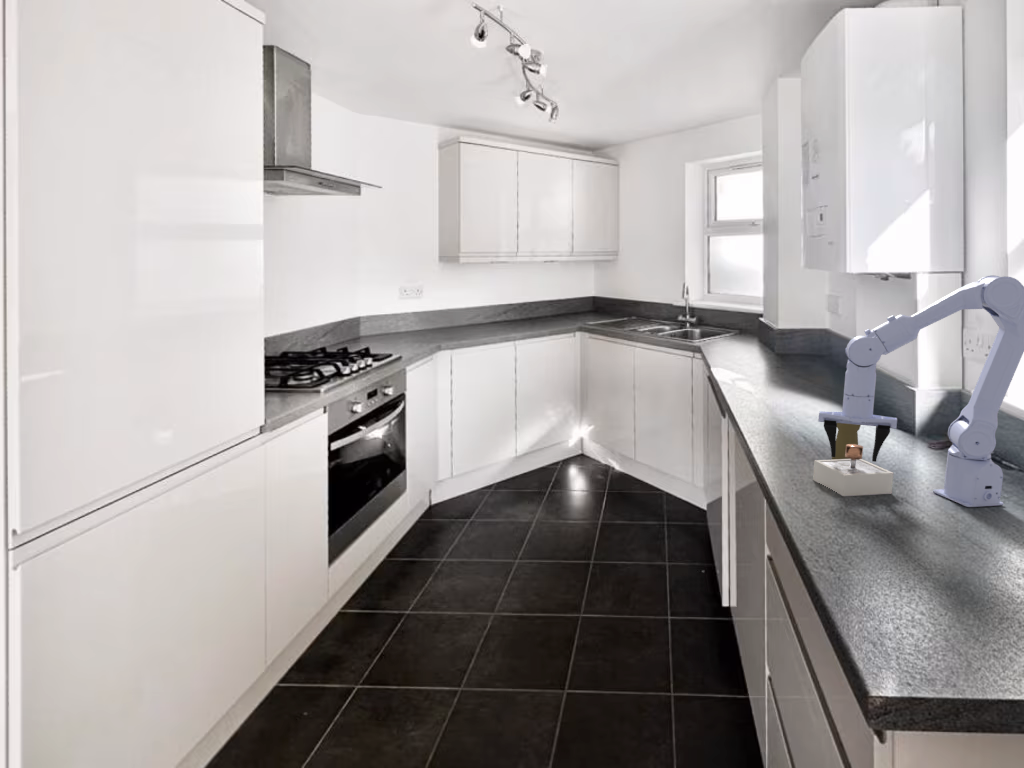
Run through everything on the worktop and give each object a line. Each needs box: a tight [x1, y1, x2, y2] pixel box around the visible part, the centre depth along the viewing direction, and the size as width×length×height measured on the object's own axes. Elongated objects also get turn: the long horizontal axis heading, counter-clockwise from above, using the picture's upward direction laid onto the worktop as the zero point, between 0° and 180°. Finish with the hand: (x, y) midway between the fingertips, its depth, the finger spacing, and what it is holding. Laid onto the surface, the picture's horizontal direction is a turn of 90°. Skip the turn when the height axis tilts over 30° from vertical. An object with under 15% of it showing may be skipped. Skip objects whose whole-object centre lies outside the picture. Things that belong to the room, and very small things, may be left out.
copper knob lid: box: [822, 444, 885, 474], centre depth 147 cm, size 9×9×5 cm
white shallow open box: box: [812, 458, 894, 497], centre depth 149 cm, size 13×11×4 cm
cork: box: [830, 423, 862, 460], centre depth 165 cm, size 6×6×11 cm
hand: (853, 458), depth 147 cm, fingers open, 7 cm apart
